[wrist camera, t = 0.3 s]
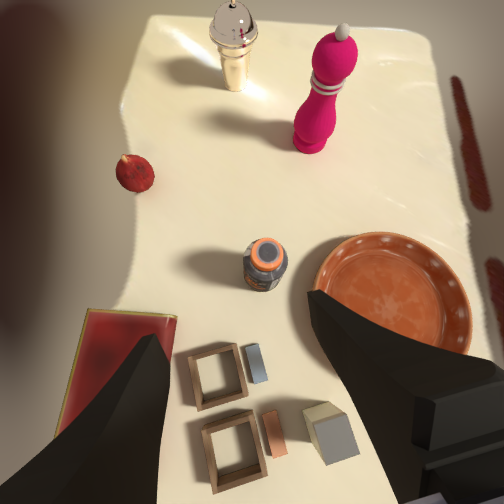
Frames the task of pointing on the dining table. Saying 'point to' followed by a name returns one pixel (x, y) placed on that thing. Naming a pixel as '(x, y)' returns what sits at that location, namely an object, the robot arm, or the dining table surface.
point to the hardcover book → (108, 353)
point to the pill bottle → (264, 264)
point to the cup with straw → (233, 42)
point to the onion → (134, 173)
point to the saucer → (399, 288)
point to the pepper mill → (324, 89)
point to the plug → (330, 433)
